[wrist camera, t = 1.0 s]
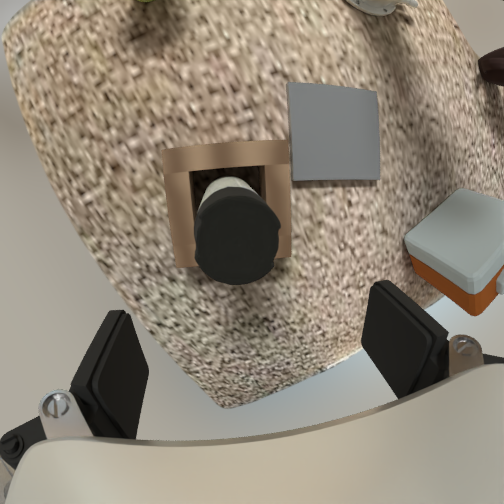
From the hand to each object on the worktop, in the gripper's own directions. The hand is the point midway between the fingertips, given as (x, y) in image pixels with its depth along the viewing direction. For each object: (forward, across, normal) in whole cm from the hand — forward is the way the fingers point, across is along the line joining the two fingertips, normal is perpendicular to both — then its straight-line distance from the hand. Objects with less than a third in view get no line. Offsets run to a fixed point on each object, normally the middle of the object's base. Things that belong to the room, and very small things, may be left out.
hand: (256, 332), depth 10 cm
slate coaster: (+29, -16, -9) cm, 35 cm away
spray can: (+30, 0, 0) cm, 30 cm away
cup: (+29, -57, -30) cm, 71 cm away
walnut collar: (+30, 0, 0) cm, 30 cm away
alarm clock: (+30, -39, +7) cm, 50 cm away
